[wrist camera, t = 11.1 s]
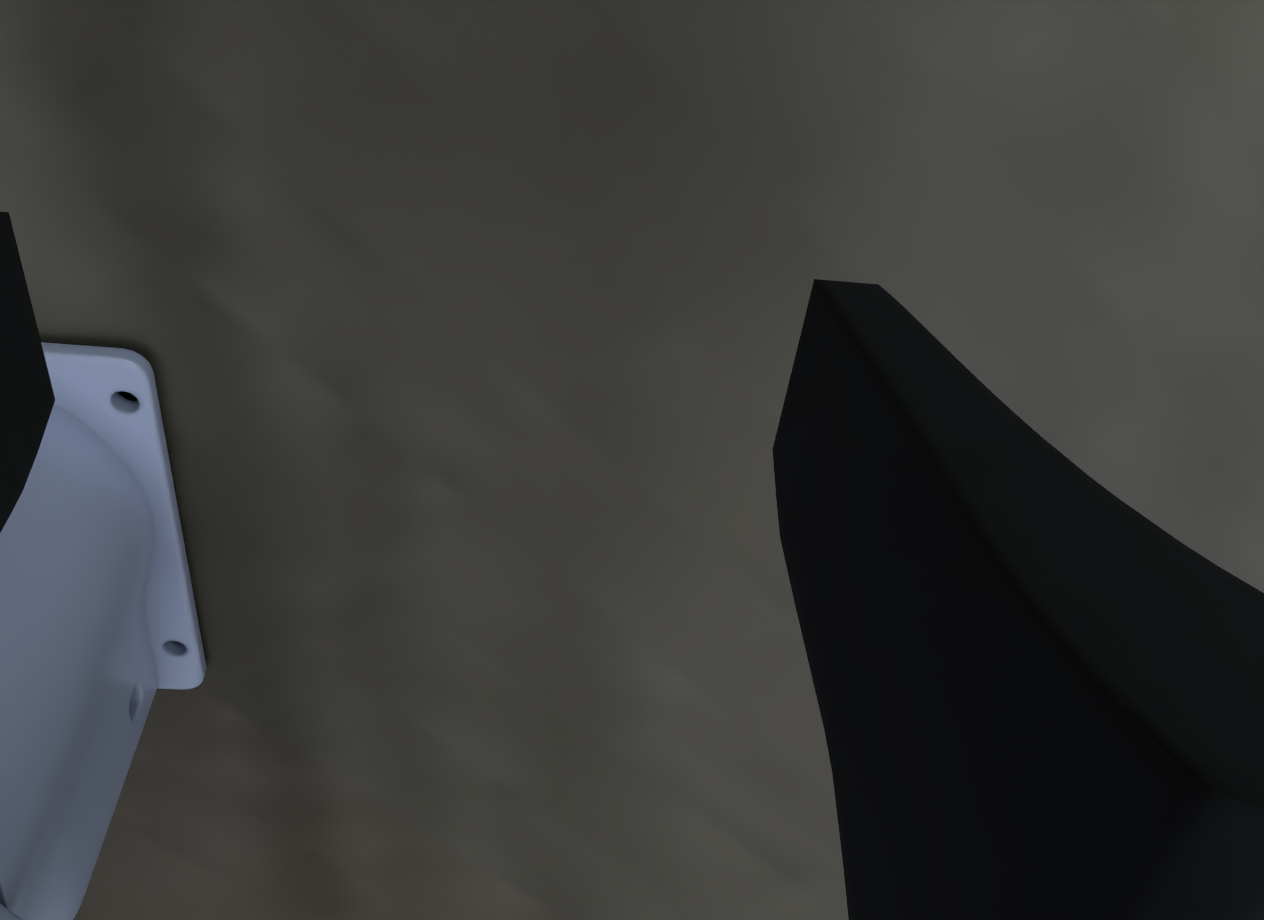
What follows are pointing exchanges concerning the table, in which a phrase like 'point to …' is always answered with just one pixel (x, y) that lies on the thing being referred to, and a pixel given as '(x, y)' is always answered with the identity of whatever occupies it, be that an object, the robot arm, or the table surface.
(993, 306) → the table surface
